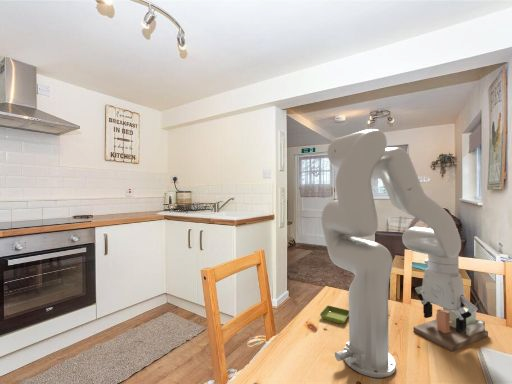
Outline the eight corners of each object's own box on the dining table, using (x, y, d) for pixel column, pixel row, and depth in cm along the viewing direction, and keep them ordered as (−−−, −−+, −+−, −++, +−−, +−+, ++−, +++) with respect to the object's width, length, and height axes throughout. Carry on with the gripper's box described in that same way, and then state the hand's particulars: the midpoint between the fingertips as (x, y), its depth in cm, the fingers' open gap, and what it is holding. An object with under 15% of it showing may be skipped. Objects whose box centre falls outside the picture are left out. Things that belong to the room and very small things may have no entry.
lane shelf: (451, 351, 71) (451, 337, 71) (413, 331, 81) (413, 318, 81) (488, 336, 78) (487, 322, 78) (448, 319, 88) (448, 308, 88)
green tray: (319, 320, 90) (319, 314, 90) (327, 310, 97) (327, 304, 97) (344, 327, 85) (344, 321, 85) (351, 316, 92) (351, 310, 92)
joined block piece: (452, 336, 75) (452, 316, 75) (431, 326, 81) (431, 307, 81) (475, 327, 80) (475, 308, 80) (454, 318, 85) (454, 300, 85)
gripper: (407, 261, 85) (408, 314, 85) (468, 277, 69) (469, 342, 69) (422, 259, 88) (423, 309, 88) (484, 273, 72) (485, 335, 72)
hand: (443, 323), depth 78 cm, fingers open, 8 cm apart
